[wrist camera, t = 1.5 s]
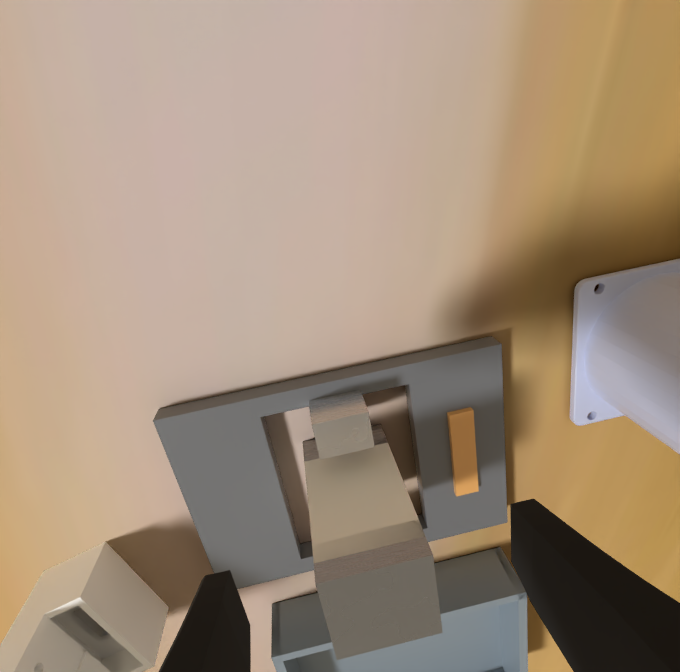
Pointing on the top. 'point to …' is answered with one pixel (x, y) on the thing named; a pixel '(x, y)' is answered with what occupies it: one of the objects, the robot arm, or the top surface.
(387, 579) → the tan rectangular block
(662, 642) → the robot arm
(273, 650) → the tray
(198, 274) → the top surface
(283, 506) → the frame
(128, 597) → the white wedge bracket
